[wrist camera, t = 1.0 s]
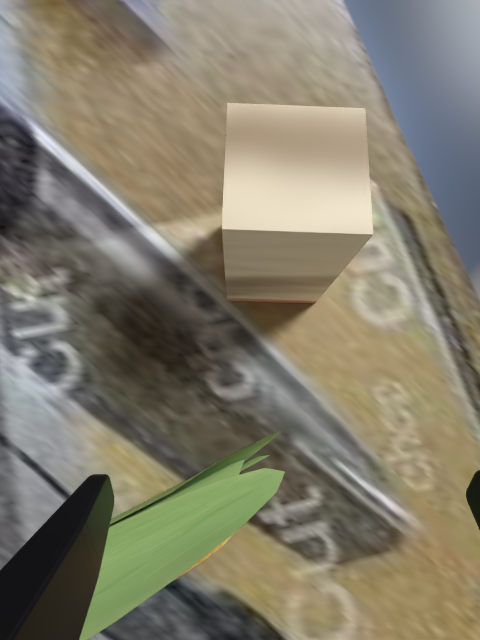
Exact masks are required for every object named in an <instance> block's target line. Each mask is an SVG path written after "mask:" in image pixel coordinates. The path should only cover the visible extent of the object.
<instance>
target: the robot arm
mask: <svg viewBox="0 0 480 640" xmlns="http://www.w3.org/2000/svg"><path fill="white" fill-rule="evenodd" d="M466 498H467V501H468V504H469V506H470V509H471V511H472V513H473V516H474V518H475V520H476V523H477V525H478V527H479V530H480V470H478V471H476V473H475V474H474V476H473V478H472V480H471V482H470V484H469V486H468V488H467V491H466ZM113 507H114V494H113V490H112V485H111V481H110V478H109V476H108V475H106V474H94V475H91V476H89V477H88V478H87V479H86V480H85V481H84V482H83V483H82V484H81V485H80V486H79V487H78V488H77V489H76V491H75V492H74V493H73V494H72V495H71V496H70V497H69V498H68V499H67V500H66V501H65V502H64V503H63V504H62V505H61V506H60V508H59V509H58V510H57V511H56V512H55V513H54V514H53V515H52V516H51V517H50V518H49V519H48V520H47V521H46V522H45V523H44V524H43V526H42V527H41V528H40V529H39V530H38V531H37V532H36V533H35V534H34V535H33V536H32V537H31V538H30V539H29V540H28V541H27V543H26V544H25V545H24V546H23V547H22V548H21V549H20V550H19V551H18V552H17V553H16V554H15V555H14V556H13V557H12V558H11V560H10V561H9V562H8V563H7V564H6V565H5V566H4V567H3V568H2V569H1V570H0V640H79V639H80V635H81V632H82V629H83V626H84V623H85V620H86V616H87V613H88V610H89V607H90V604H91V600H92V597H93V594H94V591H95V587H96V584H97V580H98V577H99V573H100V568H101V564H102V559H103V554H104V549H105V545H106V540H107V535H108V531H109V526H110V521H111V516H112V512H113Z"/></svg>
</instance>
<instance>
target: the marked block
mask: <svg viewBox="0 0 480 640" xmlns="http://www.w3.org/2000/svg"><path fill="white" fill-rule="evenodd" d="M372 235H373V223H372V208H371V193H370V177H369V162H368V147H367V131H366V116H365V108H341V107H316V106H290V105H265V104H239V103H228V104H227V126H226V149H225V171H224V193H223V215H222V238H223V253H224V267H225V281H226V295H227V301H255V302H285V303H316V302H317V300H318V299H319V298H320V297H321V296H322V294H323V293H324V292H325V291H326V290H327V289H328V287H329V286H330V285H331V284H332V283H333V281H334V280H335V279H336V278H337V277H338V276H339V274H340V273H341V272H342V271H343V270H344V268H345V267H346V266H347V265H348V264H349V262H350V261H351V260H352V259H353V258H354V257H355V255H356V254H357V253H358V252H359V251H360V249H361V248H362V247H363V246H364V245H365V244H366V242H367V241H368V240H369V239H370V238H371V236H372Z"/></svg>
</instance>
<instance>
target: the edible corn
mask: <svg viewBox="0 0 480 640" xmlns="http://www.w3.org/2000/svg"><path fill="white" fill-rule="evenodd" d="M282 431H283V430H282ZM282 431H280V432H277V433H275V434H272V435H270V436H268V437H265V438H263V439H261V440H259V441H257V442H255V443H253V444H251V445H249V446H247V447H245V448H242V449H240V450H238V451H236V452H234V453H232V454H230V455H228V456H227V457H225V458H223V459H222V460H220V461H218V462H217V463H215V464H213V465H212V466H210V467H208V468H207V469H205V470H203V471H202V472H200V473H198V474H197V475H195V476H193V477H192V478H190V479H188V480H186V481H184V482H182V483H180V484H179V485H177V486H175V487H173V488H171V489H169V490H167V491H165V492H163V493H161V494H159V495H157V496H155V497H153V498H152V499H150V500H148V501H146V502H144V503H142V504H140V505H138V506H136V507H134V508H132V509H130V510H128V511H126V512H124V513H123V514H121V515H119V516H117V517H115V518H113V519H111V521H110V526H109V531H108V535H107V540H106V545H105V549H104V554H103V559H102V564H101V568H100V573H99V577H98V580H97V584H96V587H95V591H94V594H93V597H92V600H91V604H90V607H89V610H88V613H87V616H86V620H85V623H84V626H83V629H82V632H81V635H80V639H79V640H88V639H89V638H91V637H93V636H94V635H96V634H97V633H99V632H100V631H102V630H103V629H105V628H106V627H108V626H109V625H111V624H112V623H114V622H116V621H117V620H119V619H120V618H121V617H123V616H124V615H126V614H127V613H128V612H130V611H131V610H133V609H134V608H135V607H137V606H138V605H140V604H141V603H142V602H144V601H145V600H147V599H148V598H149V597H151V596H152V595H154V594H155V593H156V592H158V591H159V590H161V589H162V588H163V587H165V586H166V585H168V584H169V583H170V582H172V581H173V580H175V579H177V578H178V577H180V576H182V575H183V574H185V573H187V572H188V571H190V570H191V569H192V568H194V567H195V566H196V565H198V564H199V563H201V562H202V561H203V560H205V559H206V558H207V557H209V556H210V555H211V554H213V553H214V552H216V551H217V550H218V549H220V548H221V547H222V546H223V545H225V544H226V542H227V541H228V540H229V539H230V538H231V536H232V535H233V534H234V533H235V532H236V531H237V530H239V529H240V528H241V527H242V526H243V525H244V524H245V523H246V522H247V521H248V520H249V519H250V518H251V517H252V516H253V515H254V514H255V513H256V512H257V511H258V510H259V509H260V508H261V507H262V506H263V505H264V504H265V503H266V502H267V501H268V500H269V499H270V498H271V497H272V496H273V495H274V494H275V493H276V492H277V490H278V487H279V485H280V483H281V480H282V478H283V475H284V473H285V472H284V471H278V470H273V469H267V468H263V469H259V470H256V471H252V472H248V473H245V474H241V475H239V473H240V471H242V470H244V469H246V468H248V467H249V466H251V465H253V464H255V463H257V462H258V461H260V460H262V459H264V458H266V457H268V456H269V455H267V456H260V457H256V458H254V459H252V460H250V461H248V462H246V463H244V462H245V461H246V460H247V459H249V458H250V457H251V456H252V455H254V454H255V453H256V452H257V451H259V450H260V449H261V448H262V447H263V446H265V445H266V444H267V443H268V442H270V441H271V440H272V439H273V438H275V437H276V436H277V435H278V434H279V433H281V432H282ZM243 463H244V464H243Z"/></svg>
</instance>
